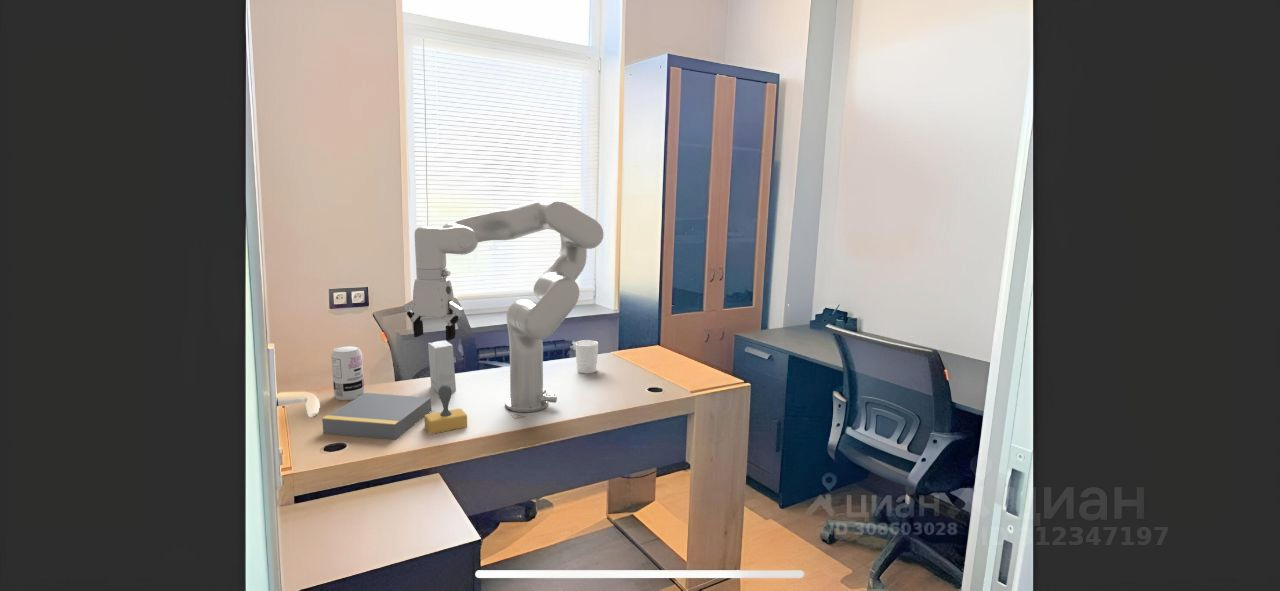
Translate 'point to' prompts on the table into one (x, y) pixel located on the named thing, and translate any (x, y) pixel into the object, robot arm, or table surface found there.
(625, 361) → the table surface
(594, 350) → the white cup
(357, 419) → the block
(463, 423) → the rubber stamp
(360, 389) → the supplement can
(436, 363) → the skincare box
